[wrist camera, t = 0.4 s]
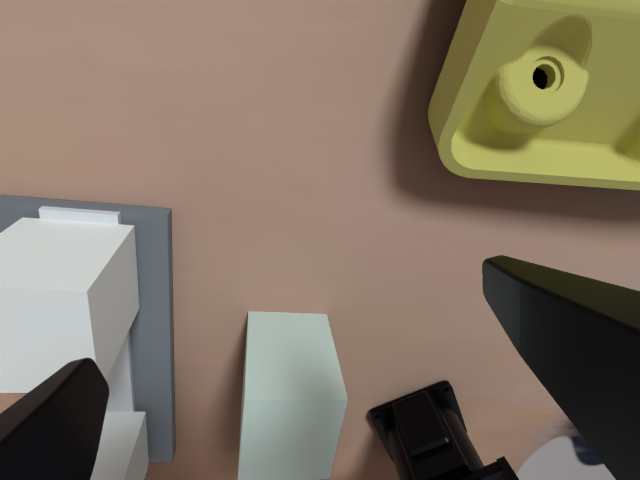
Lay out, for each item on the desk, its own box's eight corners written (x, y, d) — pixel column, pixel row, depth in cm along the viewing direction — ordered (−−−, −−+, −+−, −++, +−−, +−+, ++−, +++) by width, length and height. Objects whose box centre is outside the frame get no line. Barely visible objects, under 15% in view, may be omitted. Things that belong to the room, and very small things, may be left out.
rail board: (175, 449, 29) (150, 567, 22) (55, 452, 27) (-10, 580, 21) (171, 208, 21) (130, 281, 14) (2, 194, 19) (-131, 269, 13)
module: (313, 382, 28) (329, 478, 22) (242, 382, 27) (237, 482, 21) (326, 313, 25) (347, 399, 19) (248, 311, 24) (244, 400, 18)
